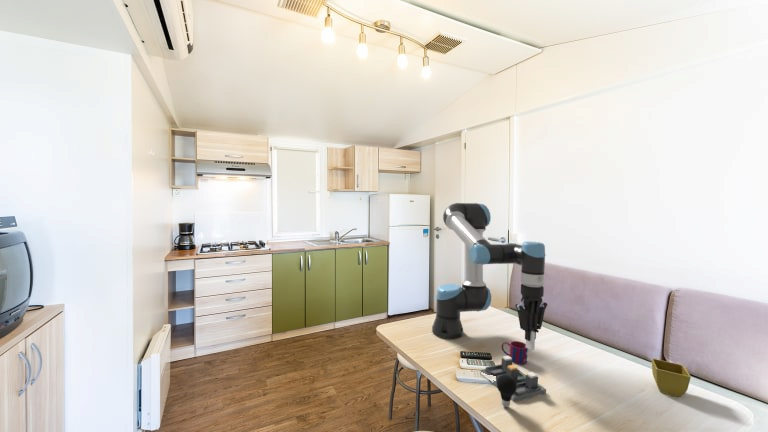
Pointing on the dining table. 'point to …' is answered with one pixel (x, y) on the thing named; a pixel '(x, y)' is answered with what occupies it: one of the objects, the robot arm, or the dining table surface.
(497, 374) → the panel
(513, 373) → the block
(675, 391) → the flower pot
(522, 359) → the mug
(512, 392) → the light bulb
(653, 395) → the dining table surface
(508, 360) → the breaker
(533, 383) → the breaker
